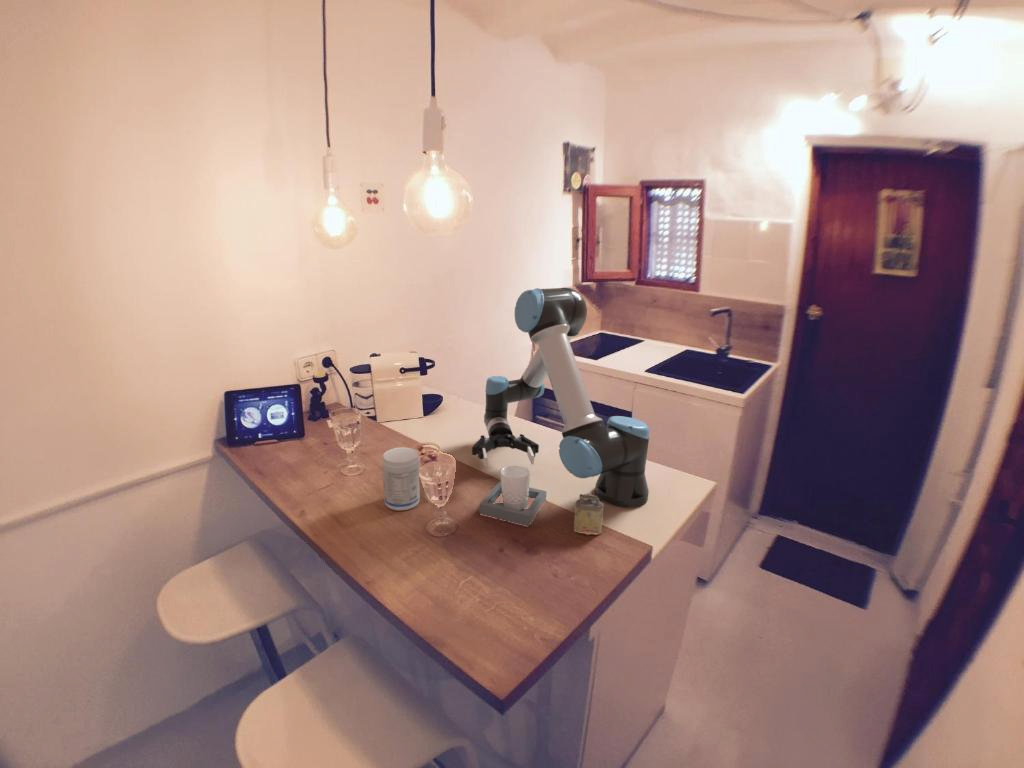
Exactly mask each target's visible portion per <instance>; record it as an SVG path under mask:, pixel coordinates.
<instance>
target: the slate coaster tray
mask: <svg viewBox="0 0 1024 768" xmlns="http://www.w3.org/2000/svg"><path fill="white" fill-rule="evenodd" d="M501 493H502V487H501V480H500V481H499V482H498V483H497V484H496V485H495V487H493V489H491V491H490V492H488V494H487V495H486V496H485V497H484V498H483V500H482V501H481V502H480V503H478V504H479V505H478V506H479V508H478V512H479V513H480V514H483V515H487V516H491V517H495V518H497V519H502V520H506V521H510V522H514V523H518V524H522V525H526V526H529V525H530V523H531V522H532V520H533V518H534V517H535V515H536V513H537V512H538V510H539V508H540V507H541V505H542V504H543V502H544V501H546V502H547V491H546V490H543V489H538V488H533V487H530V486H529V496H528V497H530V498H535V500H534V501H533V502H532V504H531V505H530V507H529V508H528V509H522V510H516V509H512V508H508V507H504V505H503V503H495V501H496V499H497V498H498V497H499V496H500V494H501ZM499 502H500V501H499ZM493 503H495V504H493ZM479 513H478V514H479ZM497 519H496V520H497ZM532 523H533V522H532ZM530 526H531V525H530Z"/></svg>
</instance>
